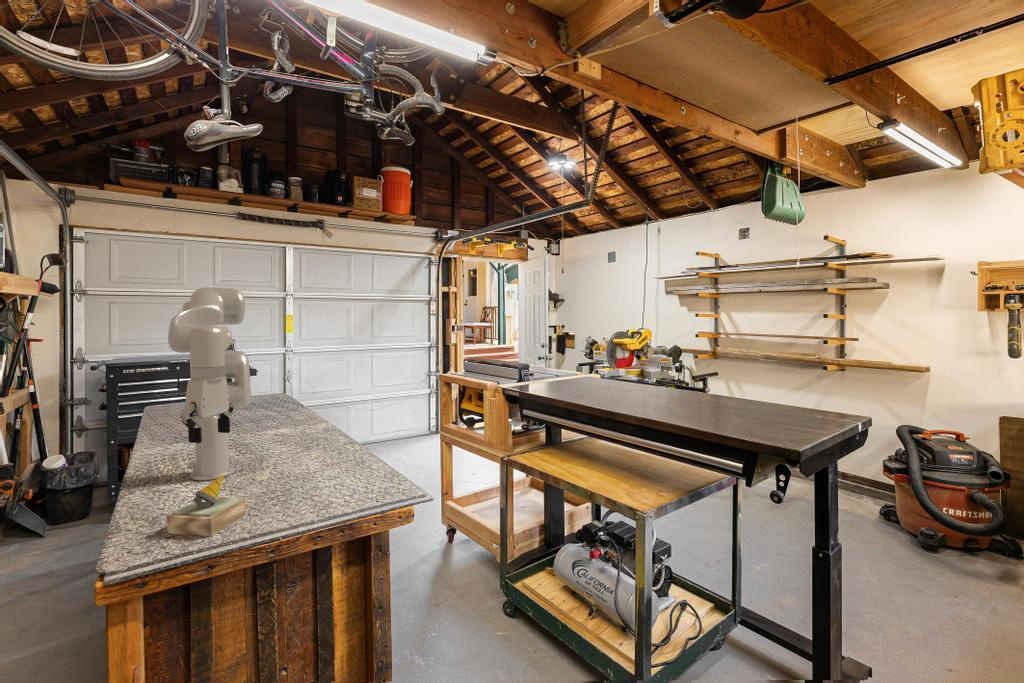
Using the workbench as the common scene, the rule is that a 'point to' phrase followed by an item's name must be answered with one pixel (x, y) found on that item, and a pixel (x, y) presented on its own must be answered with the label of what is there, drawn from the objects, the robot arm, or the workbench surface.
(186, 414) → the robot arm
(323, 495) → the workbench surface
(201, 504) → the drill bit
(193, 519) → the base block
